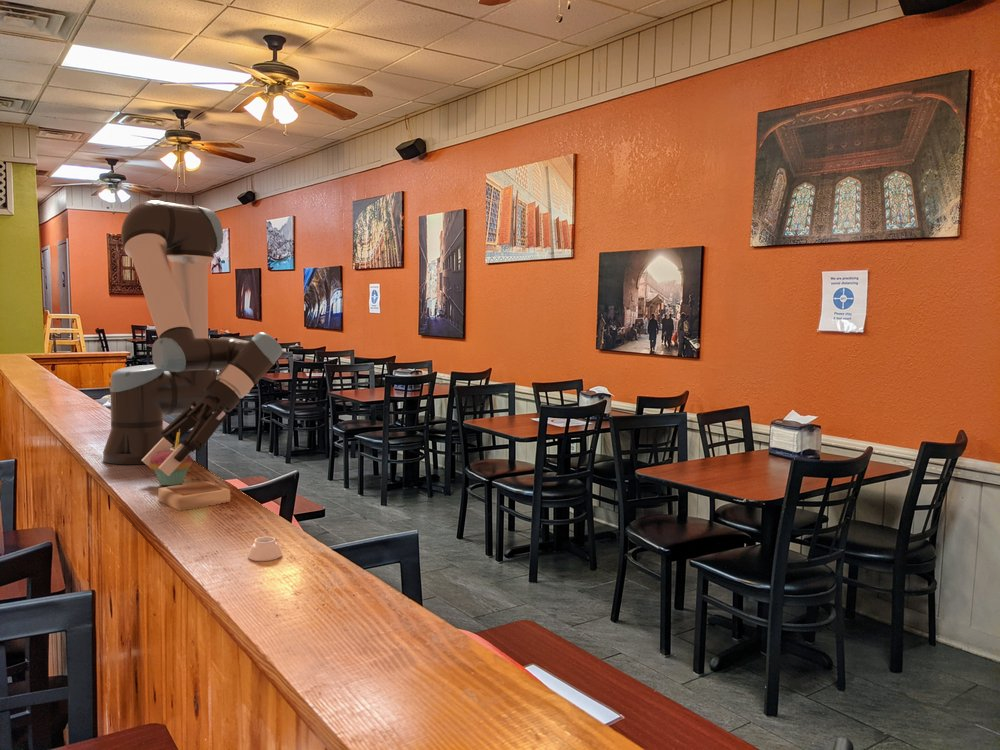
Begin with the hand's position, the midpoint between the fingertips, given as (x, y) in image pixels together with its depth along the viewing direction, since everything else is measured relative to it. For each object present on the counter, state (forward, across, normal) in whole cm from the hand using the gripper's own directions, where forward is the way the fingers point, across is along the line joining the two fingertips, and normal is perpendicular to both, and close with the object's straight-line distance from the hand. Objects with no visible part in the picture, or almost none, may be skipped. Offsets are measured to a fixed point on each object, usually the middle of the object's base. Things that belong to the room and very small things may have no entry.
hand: (154, 468), depth 154 cm
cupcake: (0, 0, -5) cm, 5 cm away
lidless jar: (+6, -55, +1) cm, 55 cm away
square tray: (+2, -16, -4) cm, 17 cm away
